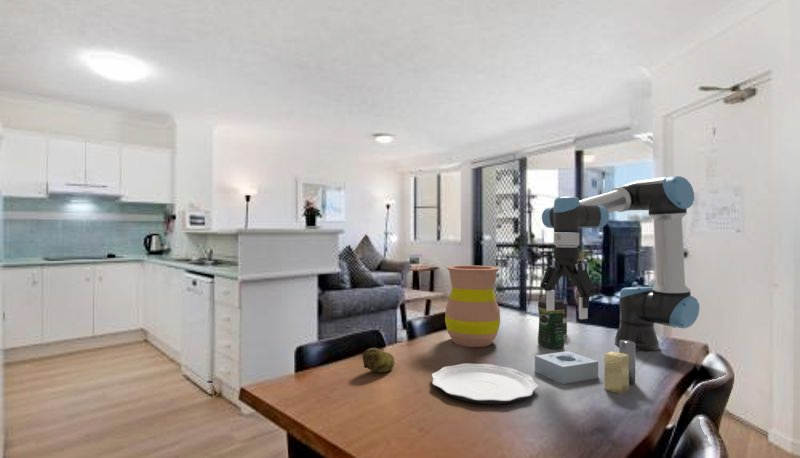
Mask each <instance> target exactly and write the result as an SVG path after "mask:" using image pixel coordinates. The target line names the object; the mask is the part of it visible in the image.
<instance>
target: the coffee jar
mask: <svg viewBox="0 0 800 458" xmlns="http://www.w3.org/2000/svg"><path fill="white" fill-rule="evenodd" d="M562 301H563V300H559V299H554V311H546V298H545V297H544V298H543V297H542V298H539V300H538V302H537V303H538V305H537V310H538V316H539V317H538V333H537V335H538V336H537V344H538V345H539V346H541V347H545V348H546V349H551V350H552V349H556V350H560V349H563V348H564V347H565V336H564V332H563V313H564V303H563V302H562Z"/></svg>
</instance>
